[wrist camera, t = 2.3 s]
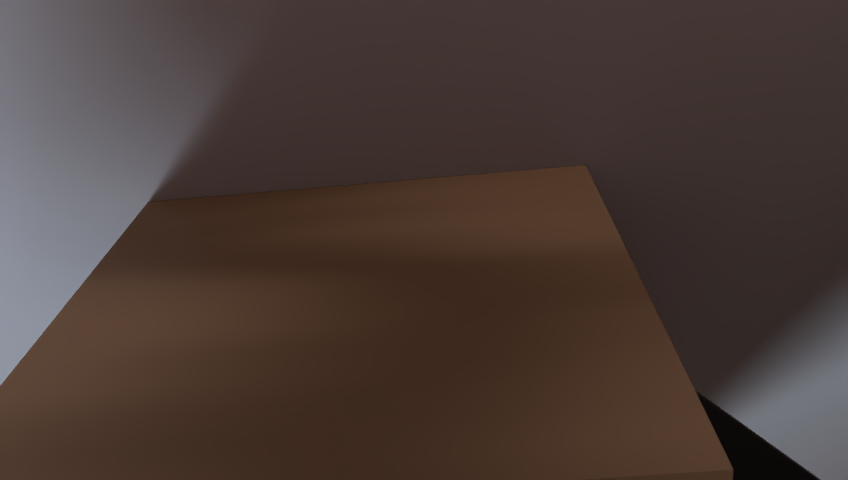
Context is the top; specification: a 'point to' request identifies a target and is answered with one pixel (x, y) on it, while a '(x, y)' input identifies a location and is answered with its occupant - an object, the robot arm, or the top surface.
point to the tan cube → (363, 344)
